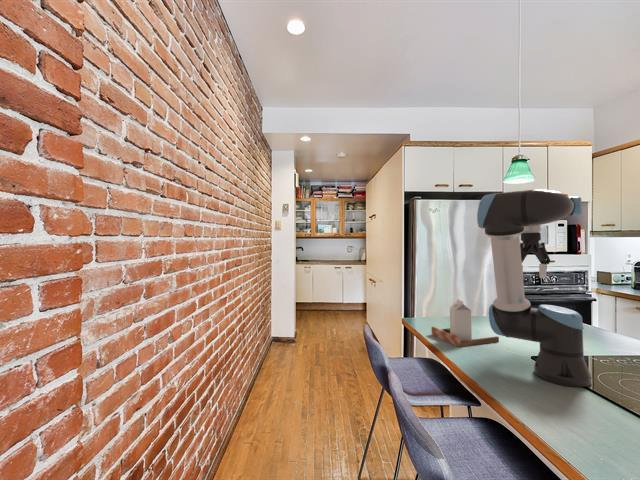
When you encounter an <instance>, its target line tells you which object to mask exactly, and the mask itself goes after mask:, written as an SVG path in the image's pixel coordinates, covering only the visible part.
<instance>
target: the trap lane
mask: <svg viewBox="0 0 640 480" xmlns="http://www.w3.org/2000/svg"><path fill="white" fill-rule="evenodd" d="M431 335H432V336H434V337H436V338H437V339H441V340H442V339H443V340H442V341H444V342H447V343H449V344H451V345H454V346H455V347H458V348H460V347H461V348H462V347H469V346H477V345H478V346H479V345H486V344H493V343H499V341H500V337H499V336H498V335H497V336H490V337H481V338H472V340H463V341H460V337H458V336H455V335H453V334H450V327H449V328H438V327H436V326H431Z"/></svg>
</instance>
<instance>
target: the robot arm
mask: <svg viewBox="0 0 640 480" xmlns="http://www.w3.org/2000/svg"><path fill="white" fill-rule="evenodd" d="M582 204H583V202H582V197H581V196H569V195H567V194H565V193H563V192H561V191H556V190H550V189H549V190H548V189H541V188H540V189H534V188H533V189H527V190H518V191H517V190H516V191H507V192H496V193H490V194H486V195H484V196H483V197H482V198H481V199H480V201H479V203H478V207H477V213H476V218H477V219H476V221H477V225H478V227H479V229H484V234H485V235H486V236H487V237H489V238H490V245H491V253H492V254H491V255H492V262H493V263H492V264H493V272H494V279H495V281H494V282H495V288H496V289H495V290H496V298H495V299H494V300H493V302H492V303H491V304H490V306H489V308H488V320H489V321H488V322H489V325H490V328H491V330H492V331H493V333H495V334H496V335H497V336H501V337H506V338H508V339H509V338H511V339H518V340H522V341H530V342H534V343H535V342H536V343H539V351H538V355H537V357H536V359H535V362H534V365H533V370H534V371H533V372H534V374H535V375H537V377H539V378H540V379H543V380H545V381H547V382H550V383H554V384H557V385H560V386H565V387H573V388H574V387H575V388H585V387H589V386H591V385H592V375H591V373H590V371H589V368H588V366H587V365H588V364H587V363H586V360H585V357H584V356H585V355H584V331H583V330H584V329H585V327H584V325H583V323H584V322H583V316H582V315H581V314H580V313H579V312H578V311H575V310H573V309H571V308H570V309H569V308H567V307H562V306H557V305H554V304H553V305H552V304H539V305H538V308H537V307H532V306H531V305H532V303H531V302H530V300H529V299H527V298H526V295H525V286H524V265H523V262H524V261H525V259H526V258H527V256H528V255H529V254H530V253H531V254H534V256H535V257H536V259H537V260H538V262H539V263H538V270H539V271H538V273H539V274H538V275H539V278H540V279H545V280H546V279H547V270H548V269H547V267H548V266H547V265H549V264H550V263H551V262H552V261H551V259H550V256H549V253H548V251H547V249H546V244H545V242H540V241H542V237H541V236H542V235H541V231H542V230H541V226H542V225H547V224H550V223H555V222H558V221H561V220H563V219H565V218H566V217H573V216H575V217H576V216H580V215H581V214H582V212H583V211H582V210H583V205H582Z"/></svg>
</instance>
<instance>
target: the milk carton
mask: <svg viewBox="0 0 640 480" xmlns="http://www.w3.org/2000/svg"><path fill="white" fill-rule="evenodd" d="M449 325H450V326H449V328H450V334H453V335H455V336H458V337H460V341H463V340H472V339H473V338H472V310H471V309H470V308H468V307H467V306H466V305H465V304H464V301H463V300H461V299H459V298H457V299H456V301H455V302H454V303H452V305H450V307H449Z"/></svg>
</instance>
